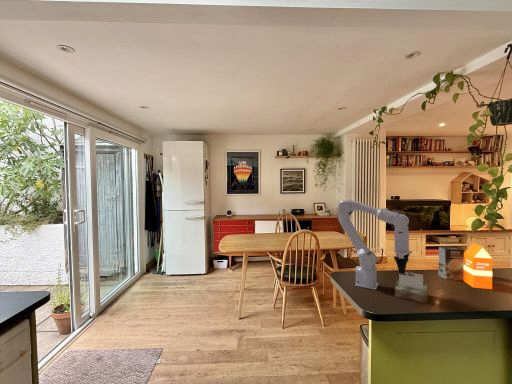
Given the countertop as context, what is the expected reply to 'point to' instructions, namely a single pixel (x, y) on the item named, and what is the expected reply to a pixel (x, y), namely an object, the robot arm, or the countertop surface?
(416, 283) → the housing
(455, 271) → the coffee box
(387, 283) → the countertop surface
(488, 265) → the orange juice
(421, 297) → the stand
